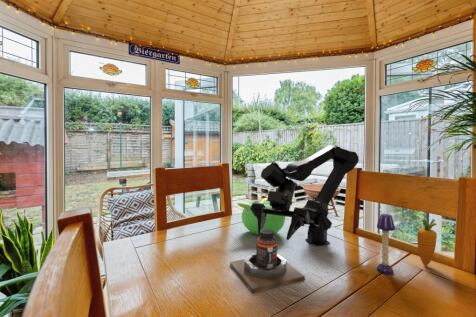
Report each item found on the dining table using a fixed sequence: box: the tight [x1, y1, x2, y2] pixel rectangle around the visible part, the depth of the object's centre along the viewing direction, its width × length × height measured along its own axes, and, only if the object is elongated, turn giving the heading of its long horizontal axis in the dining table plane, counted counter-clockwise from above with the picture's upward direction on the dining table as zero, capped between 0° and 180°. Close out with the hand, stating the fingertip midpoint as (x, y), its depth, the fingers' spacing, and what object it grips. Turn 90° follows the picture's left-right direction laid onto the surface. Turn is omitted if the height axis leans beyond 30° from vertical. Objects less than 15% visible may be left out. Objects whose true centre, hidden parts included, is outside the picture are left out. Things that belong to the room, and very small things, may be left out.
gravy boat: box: [237, 196, 286, 236], centre depth 108 cm, size 18×17×15 cm
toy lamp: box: [376, 213, 396, 275], centre depth 77 cm, size 5×5×17 cm
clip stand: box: [229, 258, 306, 294], centre depth 77 cm, size 16×16×1 cm
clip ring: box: [244, 252, 288, 280], centre depth 77 cm, size 12×12×2 cm
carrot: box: [416, 217, 438, 267], centre depth 80 cm, size 5×5×15 cm
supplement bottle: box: [256, 229, 278, 269], centre depth 77 cm, size 6×6×11 cm
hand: (272, 237), depth 81 cm, fingers open, 9 cm apart
